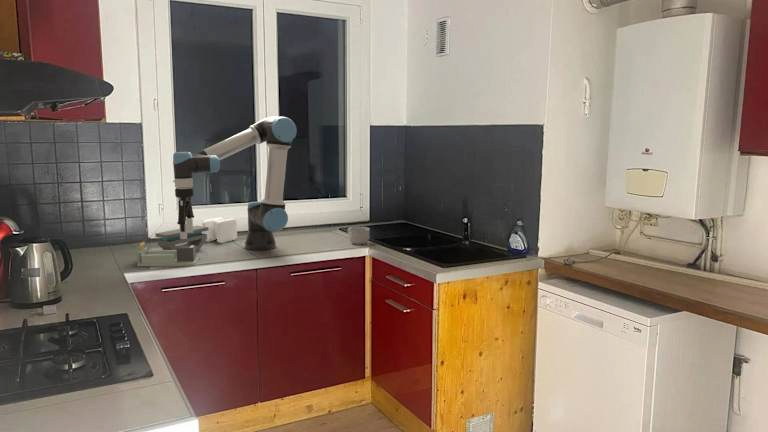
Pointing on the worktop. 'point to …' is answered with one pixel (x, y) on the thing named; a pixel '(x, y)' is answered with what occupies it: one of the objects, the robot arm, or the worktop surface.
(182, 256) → the plug
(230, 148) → the robot arm
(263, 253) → the worktop surface
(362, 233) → the teacup
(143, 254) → the header
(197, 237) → the sharpening stone
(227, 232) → the cable organizer
